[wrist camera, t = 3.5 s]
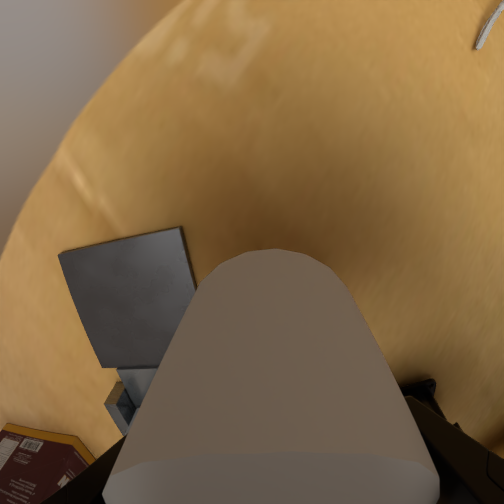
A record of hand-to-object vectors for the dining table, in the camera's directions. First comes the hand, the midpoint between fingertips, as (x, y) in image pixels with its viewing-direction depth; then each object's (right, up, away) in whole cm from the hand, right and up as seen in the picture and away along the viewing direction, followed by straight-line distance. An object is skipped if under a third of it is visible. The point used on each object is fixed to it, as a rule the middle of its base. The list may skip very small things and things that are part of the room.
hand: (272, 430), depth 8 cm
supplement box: (-27, -22, +22) cm, 41 cm away
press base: (-7, -7, +16) cm, 19 cm away
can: (0, +2, +6) cm, 7 cm away
